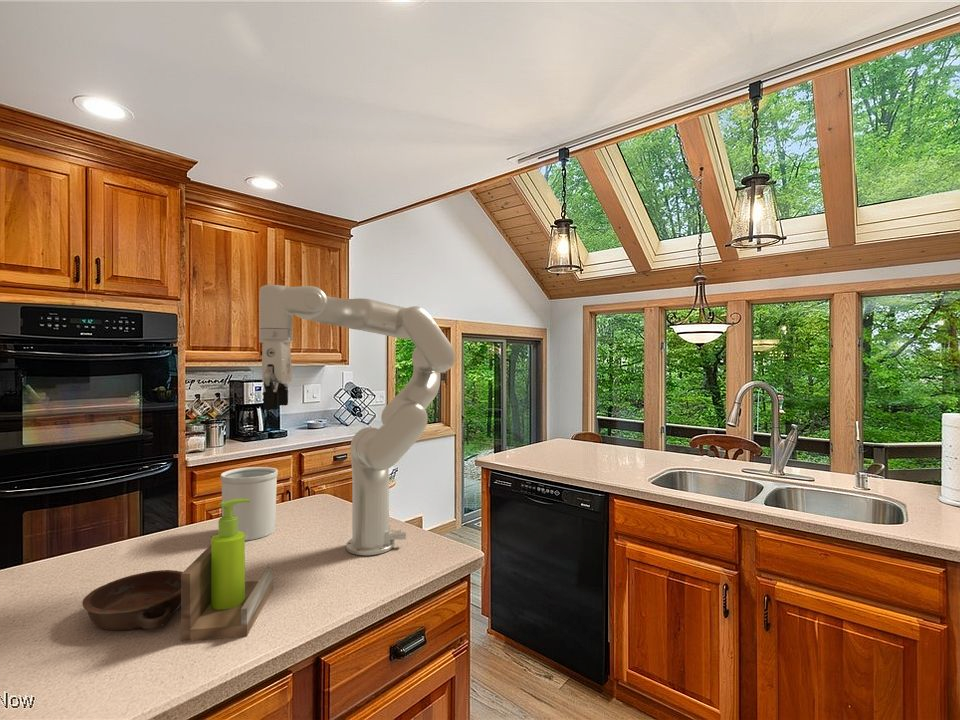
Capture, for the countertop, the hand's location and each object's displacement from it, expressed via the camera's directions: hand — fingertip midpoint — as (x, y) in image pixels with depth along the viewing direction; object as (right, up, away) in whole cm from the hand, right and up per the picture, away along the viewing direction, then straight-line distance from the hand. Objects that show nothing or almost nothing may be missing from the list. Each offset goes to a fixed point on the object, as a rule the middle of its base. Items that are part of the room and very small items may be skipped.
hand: (276, 407), depth 118 cm
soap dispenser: (0, -37, -21) cm, 42 cm away
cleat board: (0, -38, -22) cm, 44 cm away
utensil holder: (-17, -38, +22) cm, 47 cm away
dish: (-18, -39, -22) cm, 48 cm away
